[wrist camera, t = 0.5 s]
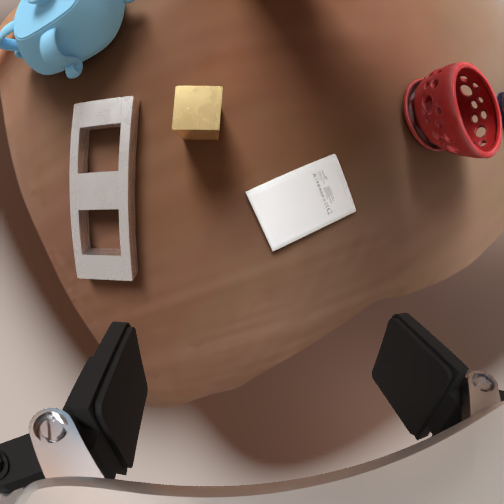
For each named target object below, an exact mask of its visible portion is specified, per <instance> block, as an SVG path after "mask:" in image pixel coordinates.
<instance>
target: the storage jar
mask: <svg viewBox="0 0 504 504" xmlns="http://www.w3.org/2000/svg"><path fill="white" fill-rule="evenodd" d="M497 101H498V105H499V108H500V112H501V118H502V126H503V128H504V93H503V92H501V93H499V94H498V96H497Z"/></svg>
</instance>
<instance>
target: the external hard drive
mask: <svg viewBox="0 0 504 504" xmlns="http://www.w3.org/2000/svg"><path fill="white" fill-rule="evenodd" d="M245 193H246V195H247V197H248V200H249V202H250V204H251V206H252V208H253V210H254V213H255V215H256V217H257V219H258V221H259V223H260V226H261V228H262V230H263V232H264V234H265V236H266V239H267V241H268V243H269V245H270V248H271V250H272V251H275V250H277V249H279V248H282V247H284V246H286V245H288V244H290V243H292V242H294V241H296V240H298V239H300V238H302V237H304V236H306V235H308V234H310V233H312V232H315V231H317V230H319V229H321V228H323V227H325V226H327V225H329V224H331V223H333V222H335V221H337V220H339V219H341V218H343V217H345V216H347V215H350V214H352V213H354V212H356V208H355V205H354V202H353V199H352V197H351V194H350V191H349V188H348V185H347V182H346V179H345V177H344V174H343V171H342V169H341V166H340V163H339V161H338V158H337V156H336V154H332V155H329V156H327V157H324V158H322V159H319V160H317V161H315V162H312V163H310V164H307V165H305V166H303V167H300V168H298V169H295V170H293V171H291V172H289V173H286V174H284V175H282V176H279V177H277V178H275V179H273V180H270V181H268V182H266V183H264V184H262V185H259V186H257V187H255V188H253V189H251V190H249V191H246V192H245Z"/></svg>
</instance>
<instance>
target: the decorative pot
mask: <svg viewBox="0 0 504 504" xmlns="http://www.w3.org/2000/svg"><path fill="white" fill-rule="evenodd" d="M132 1H134V0H21V2H20V4H19V6H18V8H17V11H16V14H15V18H14V21H12V22H10V23H9V24H7V25H6V26H5V27H4V28H3V29H2V30H1V32H0V49H3V50H9V51H15V56H16V57H17V58H24V60H25V61H26V63H27V64H28V65H29V66H30V67H31V68H32V69H34V70H35V71H36V72H38V73H40V74H43V75H52V74H56V73H59V72H62V71H64V70H65V73H66V75H67V77H68V78H70V79H72V78H76V77H78V76H79V75H80V74H81V72H82V69H83V63H82V62H83V61H85V60H87V59H89V58H90V57H92V56H94V55H96V54H97V53H99V52H100V51H102V50H103V49H104V48H106V47H107V46H108V45H109V44H110V43H111V42H112V40H113V39H114V38H115V36H116V34H117V32H118V30H119V28H120V26H121V23H122V20H123V16H124V10H125V3H130V2H132ZM12 32H14V35H15V39H9V38H5V37H6V36H7V35H9V34H10V33H12Z"/></svg>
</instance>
